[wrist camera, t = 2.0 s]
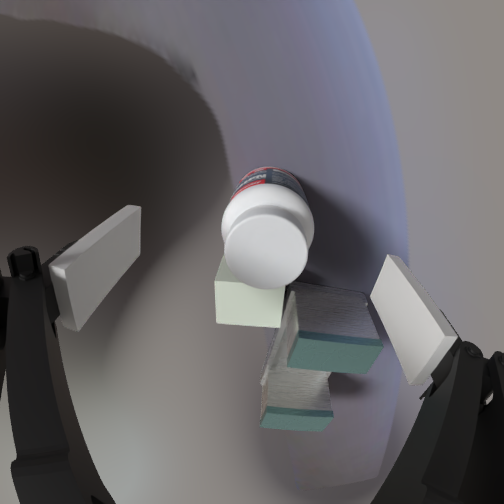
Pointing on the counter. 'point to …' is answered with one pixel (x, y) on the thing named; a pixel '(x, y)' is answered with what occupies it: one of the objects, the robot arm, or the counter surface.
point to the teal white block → (314, 354)
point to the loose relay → (246, 301)
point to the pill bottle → (267, 229)
